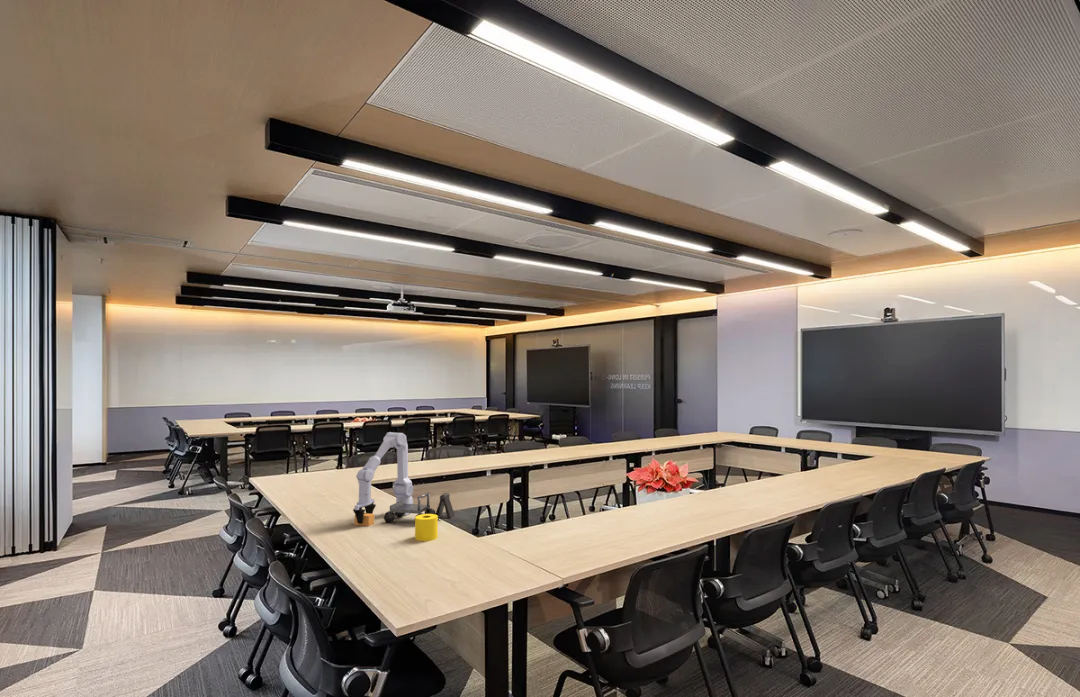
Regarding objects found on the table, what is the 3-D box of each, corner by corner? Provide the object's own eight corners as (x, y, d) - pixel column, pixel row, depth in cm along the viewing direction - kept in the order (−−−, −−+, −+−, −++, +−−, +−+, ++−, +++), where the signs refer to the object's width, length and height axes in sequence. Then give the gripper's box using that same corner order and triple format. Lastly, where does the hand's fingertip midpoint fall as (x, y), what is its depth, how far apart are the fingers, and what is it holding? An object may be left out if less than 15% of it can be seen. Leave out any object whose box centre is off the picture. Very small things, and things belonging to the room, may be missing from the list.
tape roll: (417, 542, 240) (417, 520, 240) (413, 536, 249) (413, 515, 249) (439, 539, 244) (440, 518, 244) (434, 533, 253) (434, 513, 253)
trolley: (395, 516, 283) (396, 490, 284) (435, 519, 278) (435, 492, 278) (383, 522, 272) (384, 495, 272) (424, 525, 266) (425, 497, 267)
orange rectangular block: (360, 522, 272) (360, 512, 272) (374, 524, 270) (374, 513, 270) (354, 525, 268) (354, 514, 268) (368, 526, 265) (368, 516, 266)
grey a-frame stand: (454, 516, 284) (455, 493, 284) (450, 519, 278) (450, 495, 278) (438, 515, 286) (438, 492, 286) (434, 518, 280) (434, 494, 280)
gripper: (365, 490, 278) (365, 517, 277) (349, 496, 263) (348, 524, 263) (378, 490, 276) (377, 518, 275) (361, 497, 262) (361, 525, 261)
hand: (364, 521), depth 269 cm, fingers open, 7 cm apart
